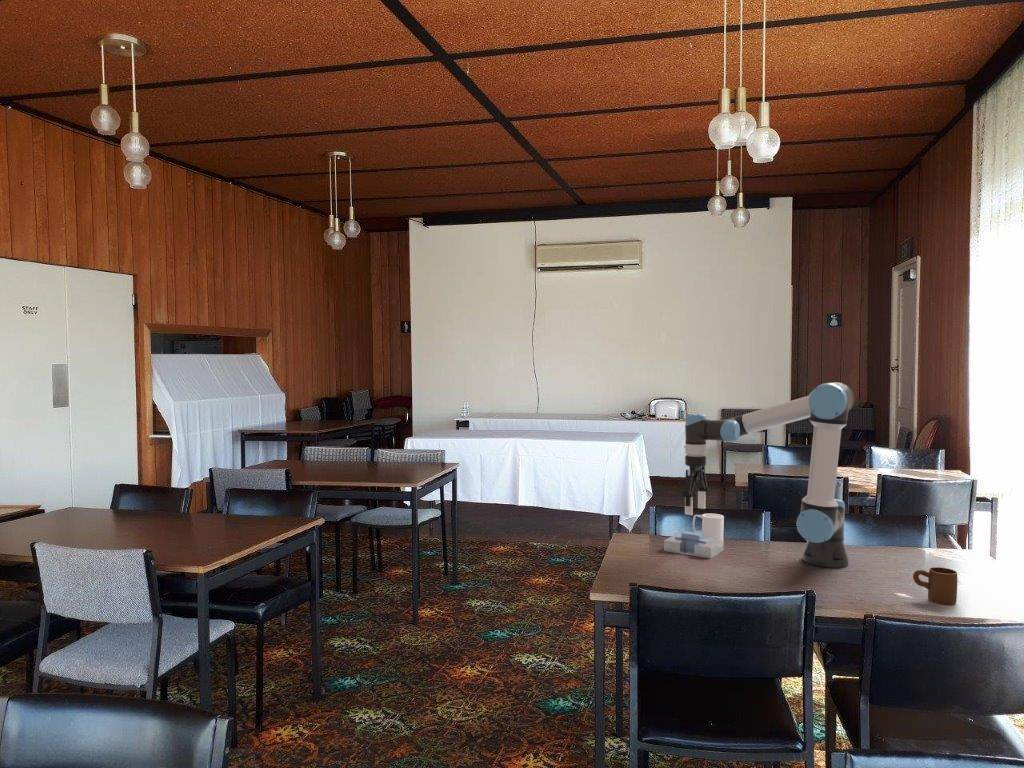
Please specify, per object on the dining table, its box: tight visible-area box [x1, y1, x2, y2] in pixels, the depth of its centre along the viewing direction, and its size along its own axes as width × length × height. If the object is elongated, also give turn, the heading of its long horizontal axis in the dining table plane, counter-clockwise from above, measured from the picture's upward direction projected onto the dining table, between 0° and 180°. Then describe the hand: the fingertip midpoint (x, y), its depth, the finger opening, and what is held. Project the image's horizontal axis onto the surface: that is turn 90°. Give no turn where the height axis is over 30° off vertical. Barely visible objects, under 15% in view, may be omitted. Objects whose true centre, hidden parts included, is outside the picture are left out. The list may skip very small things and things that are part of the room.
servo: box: [675, 530, 709, 551], centre depth 282 cm, size 12×4×6 cm, turn 56°
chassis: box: [663, 532, 725, 560], centre depth 282 cm, size 18×14×4 cm
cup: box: [692, 513, 725, 540], centre depth 297 cm, size 8×12×10 cm
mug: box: [912, 566, 959, 606], centre depth 227 cm, size 12×8×9 cm, turn 76°
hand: (695, 511), depth 281 cm, fingers open, 13 cm apart
